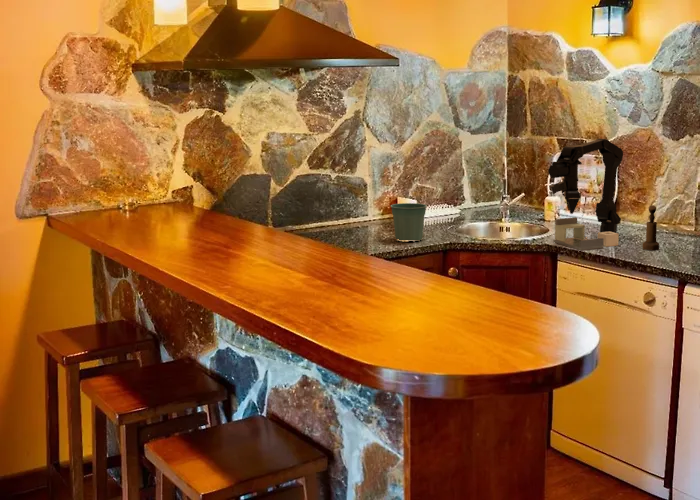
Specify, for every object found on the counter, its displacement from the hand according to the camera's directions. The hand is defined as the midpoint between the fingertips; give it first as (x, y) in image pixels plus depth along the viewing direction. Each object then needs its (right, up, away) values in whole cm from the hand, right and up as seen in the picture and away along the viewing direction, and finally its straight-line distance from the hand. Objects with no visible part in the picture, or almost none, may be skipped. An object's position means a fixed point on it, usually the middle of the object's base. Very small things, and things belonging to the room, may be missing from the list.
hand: (570, 211), depth 351 cm
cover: (0, -12, +2) cm, 12 cm away
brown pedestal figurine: (+29, -16, -15) cm, 36 cm away
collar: (+15, -14, -4) cm, 21 cm away
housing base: (+2, -14, -3) cm, 15 cm away
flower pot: (-68, -12, +18) cm, 72 cm away
